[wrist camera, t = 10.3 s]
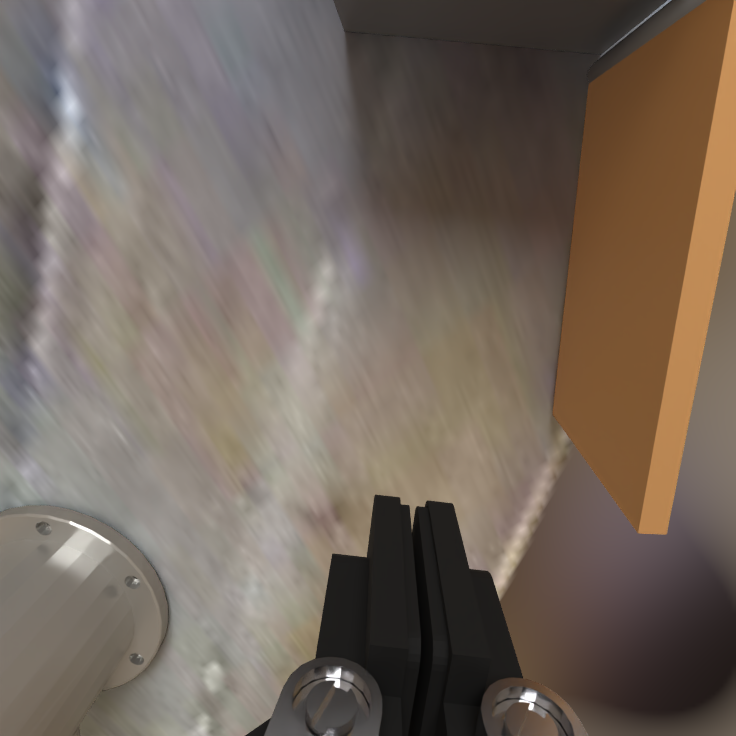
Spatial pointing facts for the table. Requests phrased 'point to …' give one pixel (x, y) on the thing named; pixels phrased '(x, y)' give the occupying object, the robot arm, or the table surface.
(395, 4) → the grey box with knob
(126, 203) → the table surface
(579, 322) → the side door
